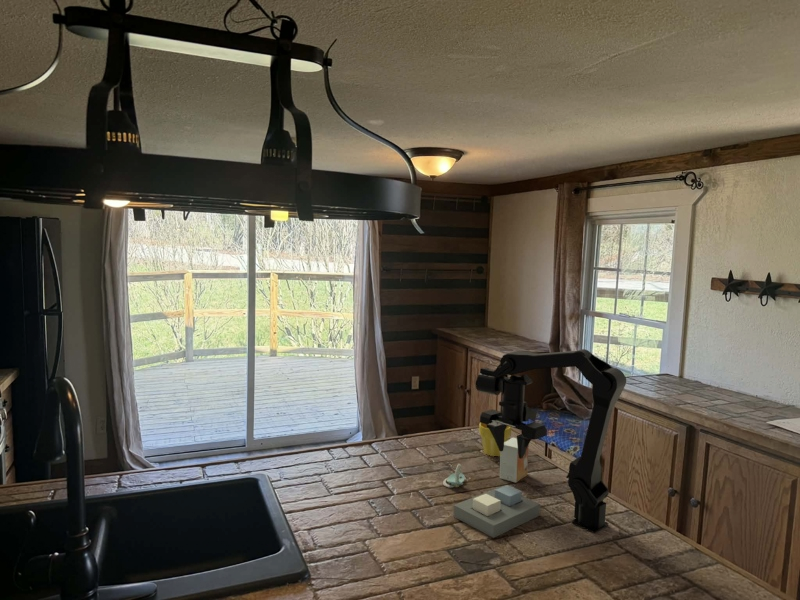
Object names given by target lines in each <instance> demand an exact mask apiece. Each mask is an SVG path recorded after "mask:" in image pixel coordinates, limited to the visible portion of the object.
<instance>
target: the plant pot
mask: <svg viewBox="0 0 800 600" xmlns="http://www.w3.org/2000/svg"><path fill="white" fill-rule="evenodd" d="M478 425H479V426H478V431H479V432H478V433H479V435H480V436H481V441H482V446H483V452H484V453H483V454H485V455H486V454H487V455H486V456H489V455H490V456H489V457H494V456H498V457H500V451H499V448H498V446H497V444H496V442H495V439H494V437H493V435H492V433H491V432H490V430H489V428H487V425H488V424H484V423H481V422H480V421H479V424H478ZM511 434H512V427H510V426H507V427H506V429H505V434H504V442H506V441H508V440H509V438H511Z"/></svg>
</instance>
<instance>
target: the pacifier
mask: <svg viewBox="0 0 800 600" xmlns="http://www.w3.org/2000/svg"><path fill="white" fill-rule="evenodd" d="M462 468H463V467H462V465H461V463H457V466H456V468H455V472H453V473H451V474H450V475H448V477H446V478H445V479H443V480H442V484H443V486H444V487H446V488H449V489H450V488H458V487H460V486H462V485H463V484H464V482H465V479H466V477H465V475H464V473H463V472H462Z"/></svg>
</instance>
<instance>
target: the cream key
mask: <svg viewBox="0 0 800 600" xmlns="http://www.w3.org/2000/svg"><path fill="white" fill-rule="evenodd" d="M500 503H501V500H498V499H496V498H494V497H492V496H490V495H488V494H484V495H481V496H479V497H476V498H474V499H473V509H474V510H476V511H478V512H480V513H482V514H484V515H486V516H489V515H491V514H494V513H496V512H498V511H500Z"/></svg>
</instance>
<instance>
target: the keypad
mask: <svg viewBox="0 0 800 600" xmlns="http://www.w3.org/2000/svg"><path fill="white" fill-rule="evenodd" d="M501 487H502V486H498V487H495V488H493V489H490V490H489V491H485V492H483V493H480V494H478V495H475V496H473V497H471V498H468V499H465V500H463V501H461V502H459V503H456V504H454V505H453V517H454V518H455V519H457V520H460V521H461V522H463V523H464V524H466V525H468V526H470V527H472V528H475V529H476V530H478V531H480V532H482V533H483V534H486V535H487V536H488V537H491V538H492V539H493V538H497V537H498V536H500V535H503V534H505V533H507V532H509V531H511V530H512V529H515V528H516V527H519V526H521V525H523V524H525V523H527V522H529V521H531V520H534V519H535V518H537V517H540V515H541V503H539V502H537V501H534V500H532V499H529V498H528V497H526V496H523V495H522V499H521V502H518V503H516V504H514V505H512V506H507V505H505V504H503V503H500V511H498V512H496V513H494V514H491V515H489V516H486V515H484V514H482V513H480V512H478V511H476V510H474V509H473V499H474V498H476V497H479V496H481V495H484V494H488V495H490V496H492V497H494V498H495V490H496V489H498V488H501Z"/></svg>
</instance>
